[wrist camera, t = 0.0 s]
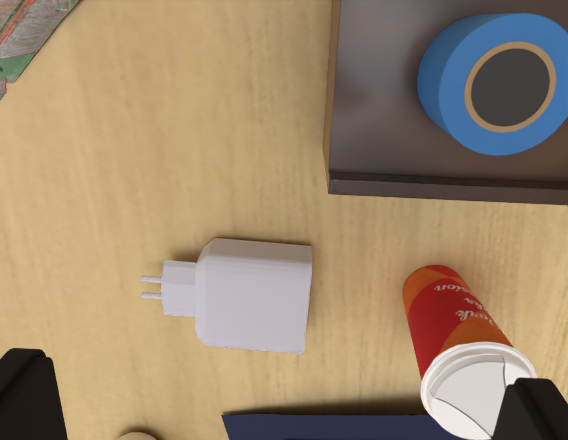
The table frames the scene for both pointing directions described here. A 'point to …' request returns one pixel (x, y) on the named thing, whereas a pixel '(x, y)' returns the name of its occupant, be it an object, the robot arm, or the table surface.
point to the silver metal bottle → (136, 436)
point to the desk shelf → (420, 111)
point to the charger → (242, 294)
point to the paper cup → (459, 353)
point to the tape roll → (497, 81)
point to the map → (26, 32)
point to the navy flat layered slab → (335, 427)
